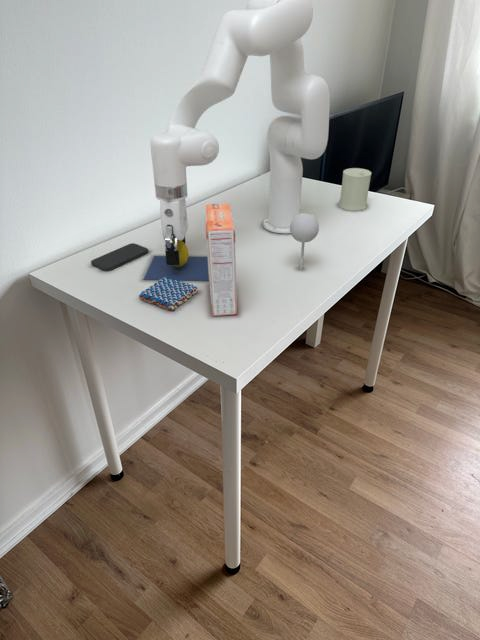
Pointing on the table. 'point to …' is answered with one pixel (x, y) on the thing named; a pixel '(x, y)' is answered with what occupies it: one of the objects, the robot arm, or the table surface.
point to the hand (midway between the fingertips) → (176, 255)
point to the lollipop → (304, 230)
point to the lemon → (182, 253)
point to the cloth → (178, 270)
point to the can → (355, 189)
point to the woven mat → (168, 293)
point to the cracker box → (221, 259)
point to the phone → (119, 256)
